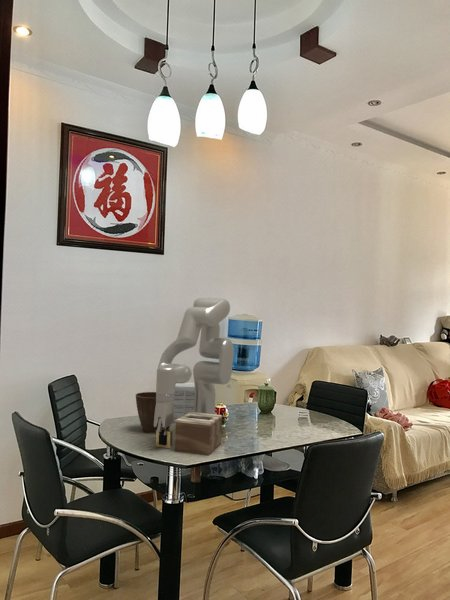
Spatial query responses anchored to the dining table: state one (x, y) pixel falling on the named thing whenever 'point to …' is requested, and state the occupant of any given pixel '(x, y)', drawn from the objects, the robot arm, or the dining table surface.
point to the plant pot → (146, 410)
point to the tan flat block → (169, 439)
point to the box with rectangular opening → (198, 433)
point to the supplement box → (183, 399)
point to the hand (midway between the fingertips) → (163, 443)
